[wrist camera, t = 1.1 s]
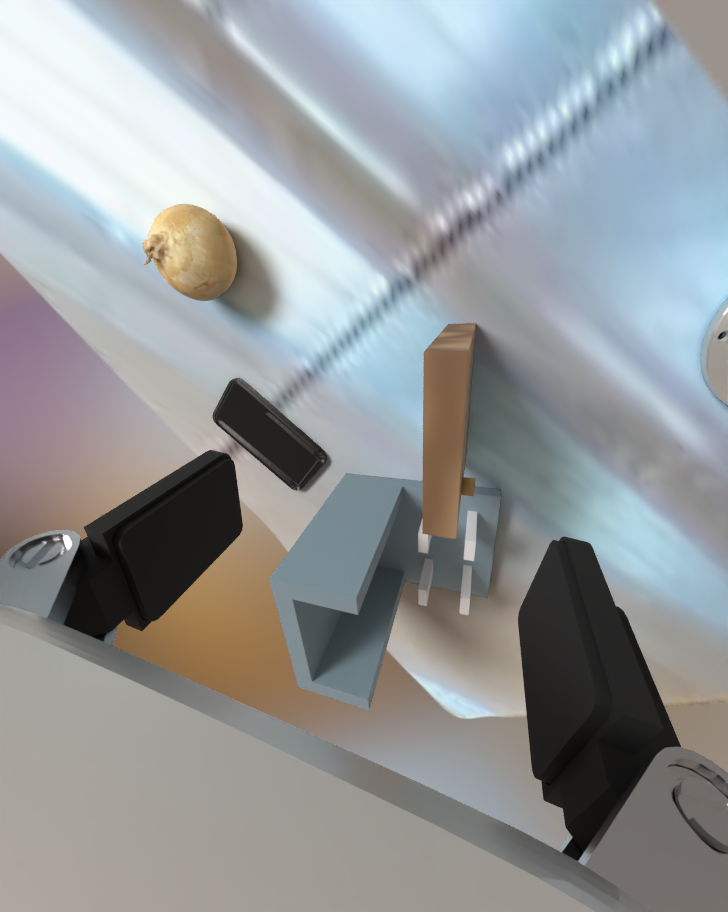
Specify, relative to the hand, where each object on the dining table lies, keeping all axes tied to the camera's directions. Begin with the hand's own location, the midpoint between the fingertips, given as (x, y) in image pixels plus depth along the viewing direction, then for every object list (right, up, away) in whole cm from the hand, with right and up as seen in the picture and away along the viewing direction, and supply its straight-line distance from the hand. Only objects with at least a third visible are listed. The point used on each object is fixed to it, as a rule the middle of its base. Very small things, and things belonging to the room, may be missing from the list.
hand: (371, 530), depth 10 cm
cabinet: (+7, -7, +33) cm, 34 cm away
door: (+9, +8, +23) cm, 26 cm away
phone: (-12, +5, +34) cm, 36 cm away
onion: (-16, +23, +25) cm, 37 cm away
